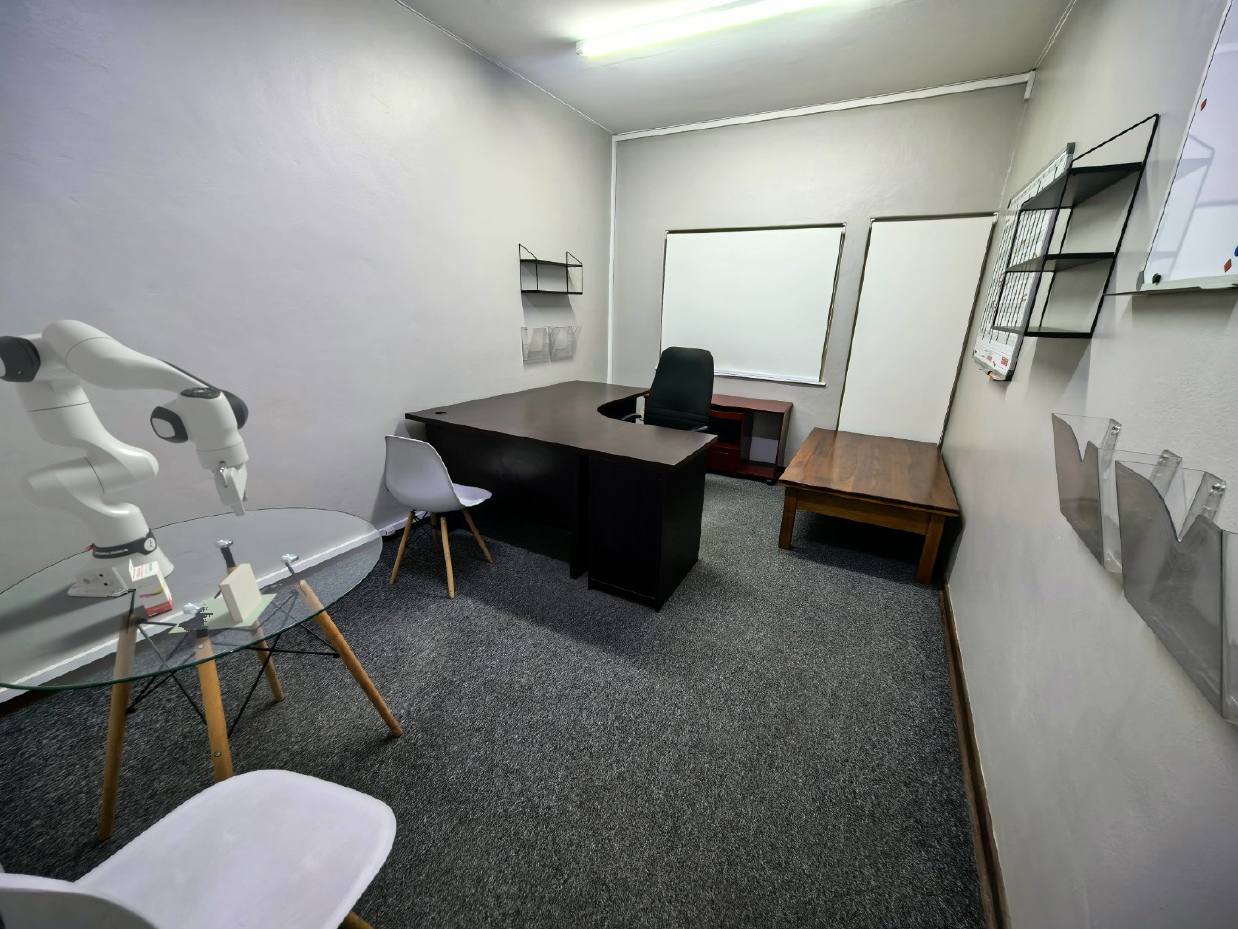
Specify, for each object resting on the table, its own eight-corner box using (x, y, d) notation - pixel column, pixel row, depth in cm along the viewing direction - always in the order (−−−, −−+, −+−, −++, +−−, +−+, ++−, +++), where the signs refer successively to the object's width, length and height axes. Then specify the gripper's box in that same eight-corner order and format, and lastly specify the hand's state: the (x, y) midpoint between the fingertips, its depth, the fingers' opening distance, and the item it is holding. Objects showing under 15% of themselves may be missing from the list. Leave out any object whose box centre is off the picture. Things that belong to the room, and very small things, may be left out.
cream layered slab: (233, 622, 119) (218, 585, 114) (253, 599, 127) (239, 564, 123) (243, 621, 119) (228, 584, 115) (262, 599, 128) (249, 563, 123)
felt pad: (168, 634, 115) (168, 633, 115) (203, 601, 127) (202, 599, 127) (251, 626, 118) (250, 625, 118) (277, 594, 130) (277, 593, 130)
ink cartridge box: (174, 609, 124) (153, 564, 118) (148, 618, 121) (126, 572, 115) (172, 594, 129) (152, 551, 124) (148, 602, 126) (127, 558, 121)
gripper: (237, 466, 102) (256, 520, 107) (243, 442, 117) (259, 490, 123) (200, 473, 99) (221, 528, 104) (211, 447, 114) (230, 496, 119)
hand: (242, 507), depth 113 cm, fingers open, 8 cm apart
